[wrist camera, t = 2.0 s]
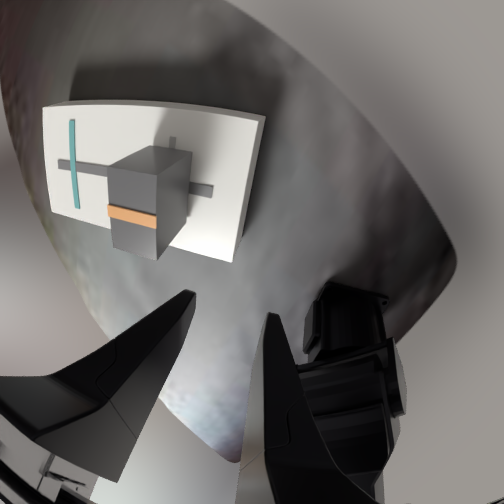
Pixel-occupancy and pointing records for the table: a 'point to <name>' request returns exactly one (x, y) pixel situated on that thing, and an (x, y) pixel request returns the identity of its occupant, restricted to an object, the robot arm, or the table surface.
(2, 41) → the table surface
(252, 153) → the console
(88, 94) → the table surface
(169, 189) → the fader
